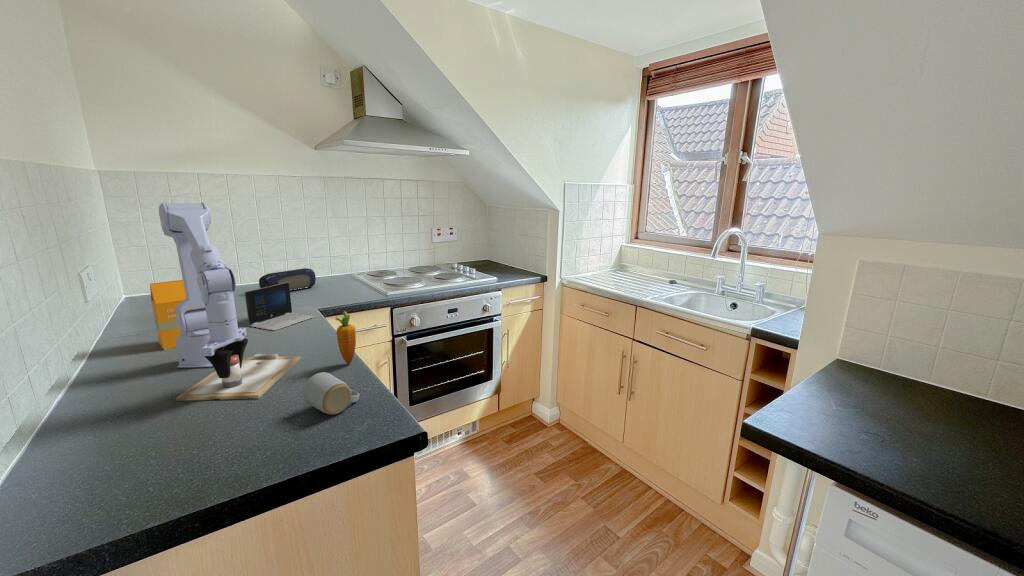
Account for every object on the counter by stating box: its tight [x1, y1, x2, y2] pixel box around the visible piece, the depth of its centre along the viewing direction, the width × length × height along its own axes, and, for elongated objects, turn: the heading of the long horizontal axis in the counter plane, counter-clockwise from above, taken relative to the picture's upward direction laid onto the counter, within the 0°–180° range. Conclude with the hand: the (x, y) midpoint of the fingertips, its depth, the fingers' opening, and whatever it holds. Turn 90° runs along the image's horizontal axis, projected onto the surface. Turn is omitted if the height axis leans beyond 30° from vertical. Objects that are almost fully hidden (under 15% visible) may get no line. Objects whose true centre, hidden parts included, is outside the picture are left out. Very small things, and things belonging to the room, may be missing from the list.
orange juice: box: [149, 279, 194, 351], centre depth 131 cm, size 8×9×20 cm
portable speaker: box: [258, 267, 317, 290], centre depth 202 cm, size 25×10×10 cm, turn 145°
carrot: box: [335, 311, 357, 365], centre depth 116 cm, size 5×5×15 cm
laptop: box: [244, 282, 316, 332], centre depth 154 cm, size 18×12×13 cm
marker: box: [222, 354, 242, 388], centre depth 103 cm, size 4×4×7 cm
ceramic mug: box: [302, 371, 360, 416], centre depth 94 cm, size 11×8×8 cm
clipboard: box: [176, 353, 302, 402], centre depth 109 cm, size 18×24×2 cm
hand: (230, 373), depth 103 cm, fingers open, 4 cm apart
